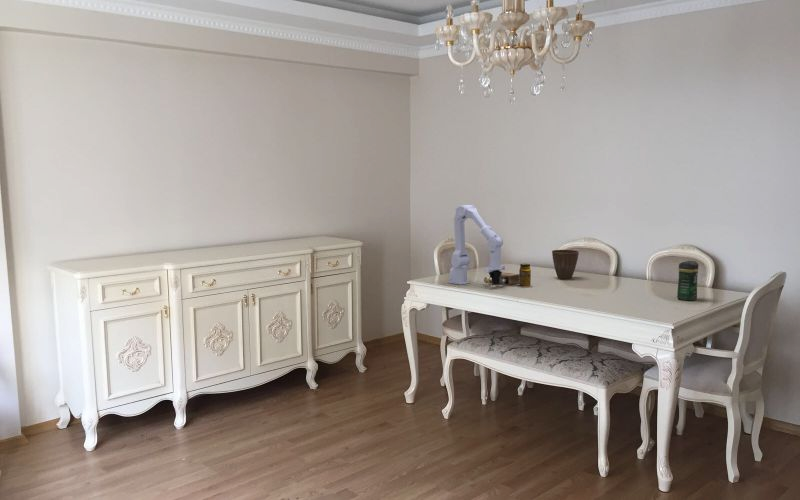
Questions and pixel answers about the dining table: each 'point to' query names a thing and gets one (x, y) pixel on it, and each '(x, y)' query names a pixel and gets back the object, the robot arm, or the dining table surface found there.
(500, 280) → the black knob
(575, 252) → the plant pot
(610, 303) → the dining table surface
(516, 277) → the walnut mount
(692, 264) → the coffee jar
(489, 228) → the robot arm
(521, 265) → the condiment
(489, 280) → the brass knob
